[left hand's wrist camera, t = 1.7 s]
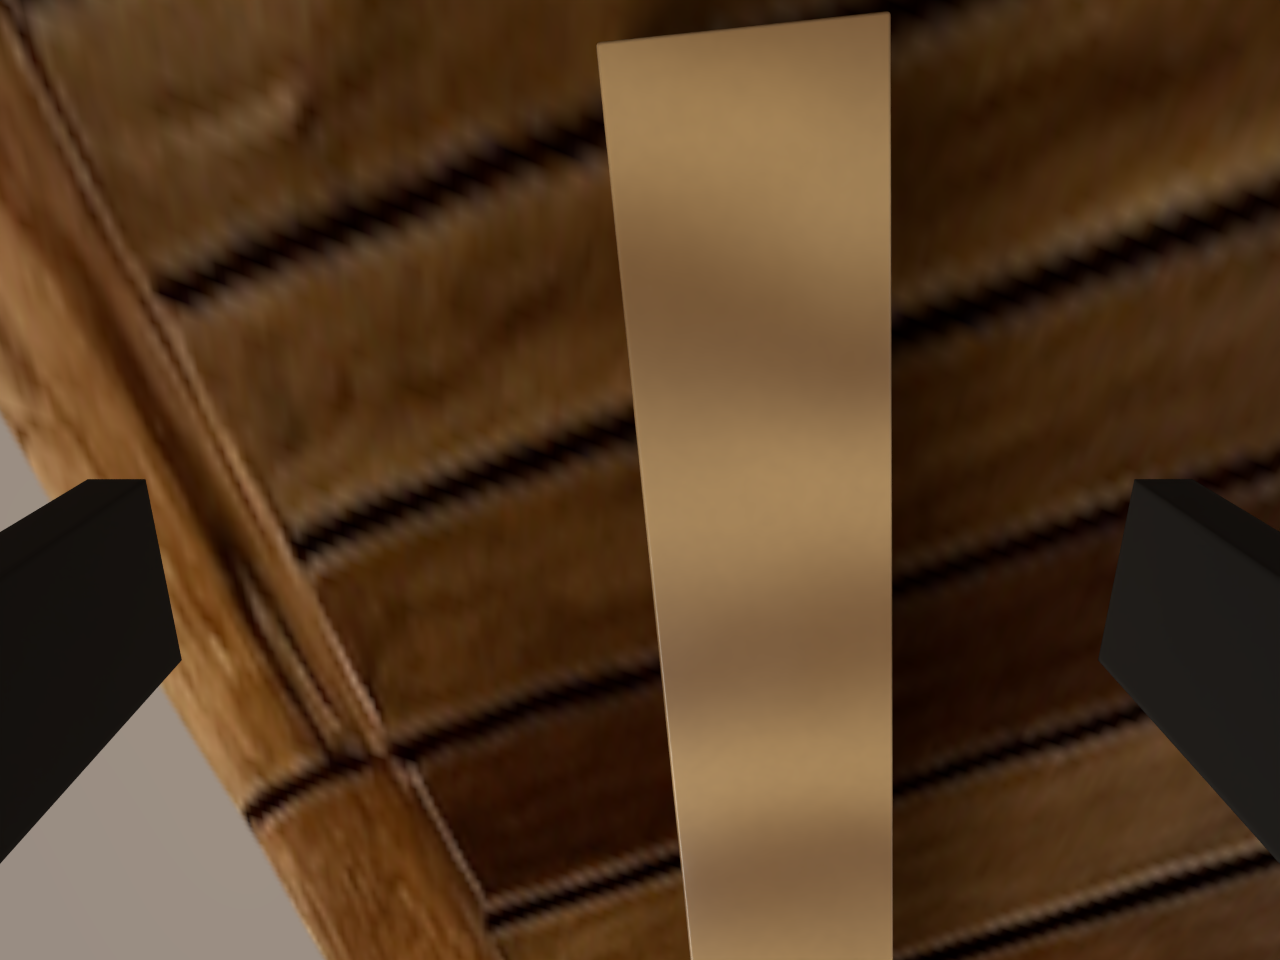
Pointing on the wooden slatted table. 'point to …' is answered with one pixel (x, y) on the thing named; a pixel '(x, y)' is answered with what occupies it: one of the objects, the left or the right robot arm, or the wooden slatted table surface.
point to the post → (766, 464)
